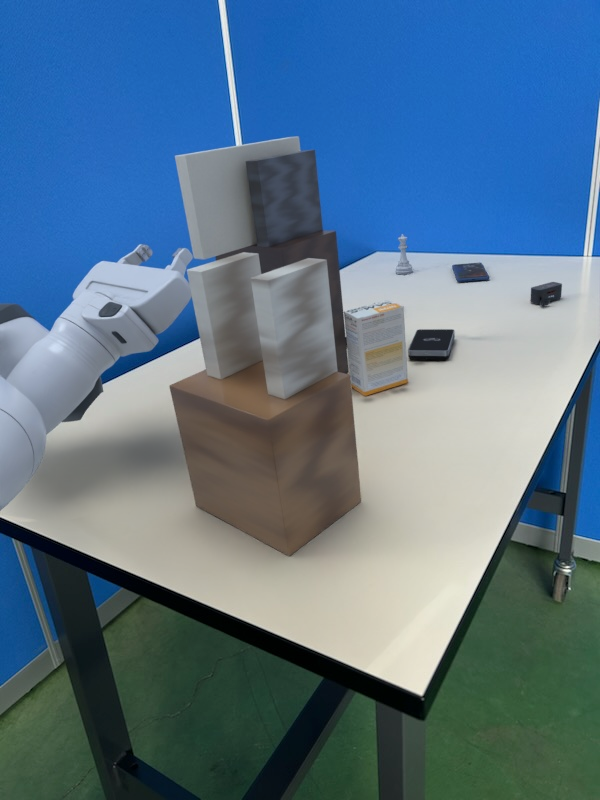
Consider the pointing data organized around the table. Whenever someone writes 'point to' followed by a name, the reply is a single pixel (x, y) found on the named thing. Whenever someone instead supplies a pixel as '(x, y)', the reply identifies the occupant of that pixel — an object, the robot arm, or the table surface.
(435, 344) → the external hard drive
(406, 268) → the chess piece
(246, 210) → the white book
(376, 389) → the supplement box
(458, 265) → the smartphone
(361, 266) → the table surface
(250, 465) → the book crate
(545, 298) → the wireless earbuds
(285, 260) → the bookstand
